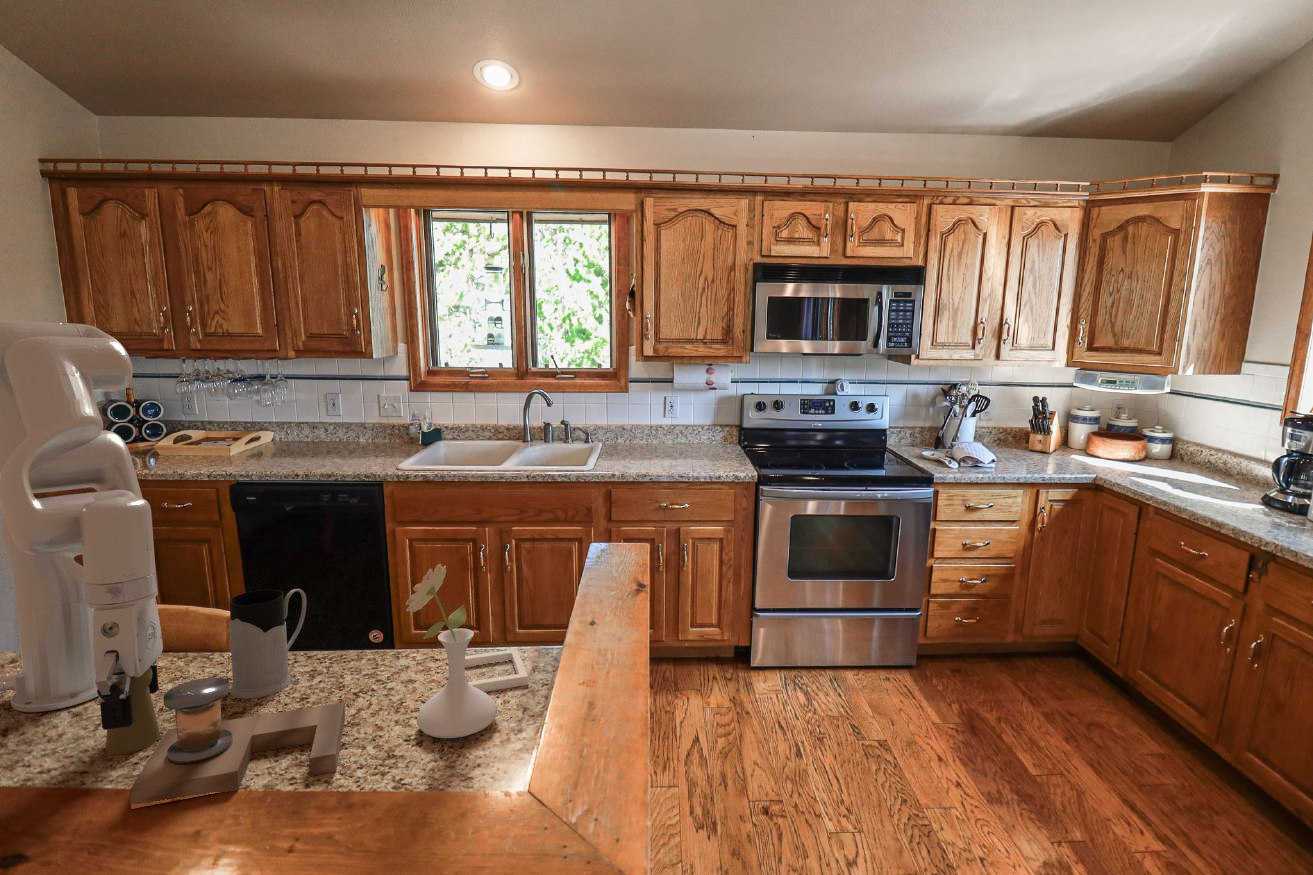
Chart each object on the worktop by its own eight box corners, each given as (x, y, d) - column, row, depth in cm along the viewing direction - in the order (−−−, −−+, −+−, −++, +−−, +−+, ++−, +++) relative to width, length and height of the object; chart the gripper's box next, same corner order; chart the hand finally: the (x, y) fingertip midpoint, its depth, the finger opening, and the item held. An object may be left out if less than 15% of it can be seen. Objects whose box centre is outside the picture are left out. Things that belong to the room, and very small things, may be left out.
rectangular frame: (458, 695, 106) (457, 686, 106) (453, 666, 117) (452, 658, 117) (528, 684, 110) (528, 676, 110) (517, 656, 121) (517, 649, 121)
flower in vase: (464, 698, 106) (461, 545, 103) (513, 720, 99) (511, 557, 97) (390, 734, 95) (384, 564, 92) (440, 762, 89) (435, 580, 86)
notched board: (130, 809, 78) (129, 790, 78) (169, 746, 91) (168, 729, 91) (336, 771, 86) (335, 753, 86) (344, 718, 99) (344, 702, 99)
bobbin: (159, 769, 82) (155, 707, 81) (177, 739, 89) (173, 682, 88) (225, 758, 85) (221, 698, 84) (238, 730, 91) (234, 674, 90)
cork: (130, 757, 89) (124, 678, 88) (93, 751, 90) (87, 673, 89) (171, 732, 95) (166, 659, 94) (136, 727, 96) (131, 655, 95)
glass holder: (216, 693, 106) (211, 603, 104) (287, 657, 120) (283, 576, 118) (260, 701, 104) (255, 609, 102) (328, 663, 117) (324, 581, 116)
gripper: (131, 606, 83) (142, 735, 85) (175, 568, 99) (183, 678, 101) (56, 614, 81) (69, 747, 82) (114, 574, 97) (123, 686, 98)
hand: (132, 709), depth 92 cm, fingers open, 9 cm apart
